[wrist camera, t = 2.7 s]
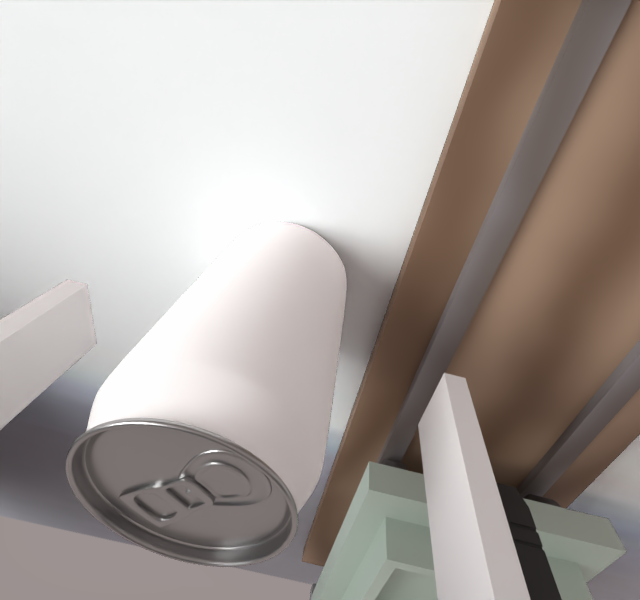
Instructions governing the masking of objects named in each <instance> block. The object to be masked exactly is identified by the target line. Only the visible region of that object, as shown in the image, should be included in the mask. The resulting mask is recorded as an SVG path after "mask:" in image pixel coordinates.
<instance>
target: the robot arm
mask: <svg viewBox="0 0 640 600" xmlns="http://www.w3.org/2000/svg"><path fill="white" fill-rule="evenodd" d="M96 344H97V341H96V335H95V329H94V323H93V317H92V310H91V304H90V298H89V292H88V285H87V284H84V283H80V282H76V281H71V280H65V281H64V282H62V283H60V284H59V285H57V286H55V287H54V288H52V289H50V290H49V291H47V292H45V293H44V294H42V295H40V296H39V297H37V298H35V299H34V300H32V301H31V302H29V303H27V304H26V305H24V306H22V307H21V308H19V309H17V310H16V311H14V312H12V313H11V314H9V315H7V316H6V317H4V318H2V319H1V320H0V430H1V429H2V428H3V427H4V426H5V425H6V424H8V423H9V422H10V421H11V420H12V419H13V418H14V417H15V416H16V415H18V414H19V413H20V412H21V411H22V410H23V409H24V408H25V407H27V406H28V405H29V404H30V403H31V402H32V401H33V400H34V399H35V398H37V397H38V396H39V395H40V394H41V393H42V392H43V391H44V390H46V389H47V388H48V387H49V386H50V385H51V384H52V383H53V382H54V381H56V380H57V379H58V378H59V377H60V376H61V375H62V374H63V373H65V372H66V371H67V370H68V369H69V368H70V367H71V366H72V365H74V364H75V363H76V362H77V361H78V360H79V359H80V358H81V357H82V356H84V355H85V354H86V353H87V352H88V351H89V350H90V349H91V348H93V347H94V346H95V345H96ZM418 428H419V437H420V446H421V455H422V464H423V473H424V482H425V491H426V499H427V508H428V517H429V526H430V535H431V544H432V553H433V562H434V571H435V580H436V589H437V598H438V600H562V599H561V596H560V593H559V590H558V587H557V585H556V582H555V579H554V576H553V573H552V571H551V568H550V565H549V562H548V559H547V557H546V554H545V551H544V550H543V549H542V547H543V545H542V542H541V540H540V537H539V534H538V533H537V532H536V529H537V528H536V526H535V523H534V520H533V517H532V514H531V512H530V509H529V507H528V505H527V504H526V502H525V501H524V499H523V498H522V496H521V495H520V493H519V492H518V491H517V489H516V488H515V487H511V486H508V485H504V484H500V483H496V480H495V477H494V474H493V470H492V467H491V463H490V460H489V457H488V453H487V450H486V446H485V443H484V440H483V436H482V433H481V429H480V426H479V423H478V419H477V416H476V412H475V409H474V406H473V402H472V399H471V395H470V392H469V389H468V385H467V382H466V378H463V377H459V376H455V375H451V374H447V373H444V374H443V376H442V378H441V380H440V382H439V384H438V386H437V388H436V390H435V392H434V394H433V396H432V398H431V400H430V402H429V404H428V406H427V408H426V410H425V412H424V414H423V416H422V418H421V420H420V422H419V424H418Z"/></svg>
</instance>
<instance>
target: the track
mask: <svg viewBox="0 0 640 600" xmlns="http://www.w3.org/2000/svg"><path fill="white" fill-rule="evenodd" d="M444 373H447V374H451V375H455V376H459V377H463V378H466V382H467V385H468V389H469V392H470V395H471V399H472V402H473V406H474V409H475V412H476V416H477V419H478V423H479V426H480V429H481V433H482V436H483V440H484V443H485V446H486V450H487V453H488V457H489V460H490V463H491V467H492V470H493V474H494V477H495V480H496V483H500V484H504V485H508V486H511V487H515V488H516V489H517V491H518V492H519V493H520V495H521V496H522V498H524V497H525V496H527V495H529V494H532V495H536V496H540V497H544V498H548V499H552V500H555V501H556V502H557V503H558V504H559V505H560V507H561V508H567V507H568V506H569V505H570V504H571V503H572V502H573V501H574V500H575V499H576V498H577V497H578V496H579V495H580V494H581V493H582V492H583V491H584V490H585V489H586V488H587V487H588V486H589V485H590V484H591V483H592V482H593V481H594V480H595V479H596V478H597V477H598V476H599V475H600V474H601V473H602V472H603V471H604V470H605V469H606V468H607V467H608V466H609V465H610V464H611V463H612V462H613V461H614V460H615V459H616V458H617V457H618V456H619V455H620V454H621V453H622V452H623V451H624V450H625V448H626V447H627V446H628V445H629V444H630V443H631V442H632V441H633V440H634V439H635V438H636V437H637V436H638V435H639V434H640V0H495V1H494V3H493V6H492V9H491V12H490V15H489V18H488V21H487V24H486V26H485V29H484V32H483V35H482V38H481V41H480V44H479V47H478V49H477V52H476V55H475V58H474V61H473V64H472V67H471V70H470V72H469V75H468V78H467V81H466V84H465V87H464V90H463V93H462V95H461V98H460V101H459V104H458V107H457V110H456V113H455V116H454V118H453V121H452V124H451V127H450V130H449V133H448V136H447V139H446V141H445V144H444V147H443V150H442V153H441V156H440V159H439V162H438V164H437V167H436V170H435V173H434V176H433V179H432V182H431V185H430V187H429V190H428V193H427V196H426V199H425V202H424V205H423V208H422V210H421V213H420V216H419V219H418V222H417V225H416V228H415V231H414V233H413V236H412V239H411V242H410V245H409V248H408V251H407V254H406V256H405V259H404V262H403V265H402V268H401V271H400V274H399V277H398V279H397V282H396V285H395V288H394V291H393V294H392V297H391V300H390V302H389V305H388V308H387V311H386V314H385V317H384V320H383V323H382V325H381V328H380V331H379V334H378V337H377V340H376V343H375V346H374V348H373V351H372V354H371V357H370V360H369V363H368V366H367V369H366V371H365V374H364V377H363V380H362V383H361V386H360V389H359V392H358V394H357V397H356V400H355V403H354V406H353V409H352V412H351V415H350V417H349V420H348V423H347V426H346V429H345V432H344V435H343V438H342V440H341V443H340V446H339V449H338V452H337V455H336V458H335V461H334V463H333V466H332V469H331V472H330V475H329V478H328V481H327V484H326V486H325V489H324V492H323V495H322V498H321V501H320V504H319V507H318V509H317V512H316V515H315V518H314V521H313V524H312V527H311V530H310V532H309V535H308V538H307V541H306V544H305V547H304V551H303V558H302V561H303V562H307V563H311V564H315V565H319V566H325V563H326V561H327V559H328V556H329V554H330V552H331V549H332V547H333V545H334V542H335V540H336V538H337V535H338V533H339V531H340V528H341V526H342V524H343V521H344V519H345V517H346V514H347V512H348V510H349V507H350V505H351V503H352V500H353V498H354V496H355V493H356V491H357V489H358V486H359V484H360V482H361V479H362V477H363V475H364V472H365V470H366V468H367V465H368V463H369V461H370V462H374V463H379V464H381V462H382V460H383V459H386V460H390V461H395V462H399V463H403V464H405V465H406V467H407V470H408V471H412V472H416V473H420V474H424V473H423V464H422V455H421V446H420V437H419V428H418V424H419V422H420V420H421V418H422V416H423V414H424V412H425V410H426V408H427V406H428V404H429V402H430V400H431V398H432V396H433V394H434V392H435V390H436V388H437V386H438V384H439V382H440V380H441V378H442V376H443V374H444Z"/></svg>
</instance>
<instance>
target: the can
mask: <svg viewBox="0 0 640 600" xmlns="http://www.w3.org/2000/svg"><path fill="white" fill-rule="evenodd" d="M346 293H347V278H346V271H345V268H344V265H343V263H342V261H341V259H340V257H339V255H338V254H337V253H336V251H335V250H334V249H333V248H332V247H331V245H330V244H329V243H328V242H327V241H325V240H324V239H323V238H322V237H321V236H320V235H318V234H317V233H315V232H314V231H312V230H310V229H308V228H306V227H303V226H300V225H297V224H293V223H288V222H268V223H263V224H259V225H257V226H254V227H252V228H250V229H248V230H246V231H245V232H243V233H242V234H241V235H239V236H238V237H237V238H236V239H235V240H234V241H233V242H232V243H231V244H230V245H229V246H228V247H227V248H226V249H225V250H224V251H223V252H222V253H221V254H220V255H219V257H218V258H217V259H216V260H215V261H214V262H213V263H212V264H211V265H210V266H209V267H208V268H207V269H206V270H205V271H204V272H203V274H202V275H201V276H200V277H199V278H198V279H197V280H196V281H195V282H194V283H193V284H192V285H191V286H190V287H189V289H188V290H187V291H186V292H185V293H184V294H183V295H182V296H181V297H180V298H179V299H178V300H177V301H176V303H175V304H174V305H173V306H172V307H171V308H170V309H169V310H168V311H167V312H166V313H165V314H164V316H163V317H162V318H161V319H160V320H159V321H158V322H157V323H156V324H155V325H154V326H153V327H152V329H151V330H150V331H149V332H148V333H147V334H146V335H145V336H144V337H143V338H142V339H141V340H140V342H139V343H138V344H137V345H136V346H135V347H134V348H133V349H132V350H131V351H130V353H129V354H128V355H127V356H126V357H125V358H124V359H123V360H122V361H121V363H120V364H119V365H118V366H117V367H116V368H115V370H114V371H113V372H112V373H111V374H110V375H109V377H108V378H107V379H106V381H105V382H104V383H103V385H102V386H101V388H100V389H99V391H98V393H97V395H96V397H95V400H94V402H93V405H92V409H91V413H90V417H89V421H88V426H87V431H86V432H84V433H83V434H82V435H81V436H79V437H78V438H77V439H76V440H75V442H74V443H73V444H72V446H71V447H70V449H69V451H68V454H67V458H66V475H67V479H68V482H69V484H70V487H71V489H72V491H73V492H74V494H75V496H76V497H77V499H78V500H79V501H80V503H81V504H82V505H83V506H84V507H85V509H86V510H87V511H88V512H89V513H90V514H91V515H92V516H93V517H95V518H96V519H97V520H98V521H99V522H100V523H102V524H103V525H104V526H106V527H107V528H108V529H110V530H111V531H113V532H114V533H116V534H117V535H119V536H121V537H122V538H124V539H126V540H128V541H130V542H132V543H133V544H136V545H138V546H140V547H142V548H144V549H146V550H149V551H151V552H154V553H157V554H159V555H162V556H165V557H169V558H172V559H175V560H179V561H183V562H188V563H193V564H198V565H205V566H217V567H236V566H246V565H251V564H256V563H260V562H263V561H266V560H268V559H271V558H273V557H275V556H276V555H278V554H280V553H281V552H282V551H284V550H285V549H286V548H287V547H288V546H289V544H290V543H291V542H292V540H293V538H294V536H295V534H296V531H297V527H298V512H299V511H300V510H301V508H302V507H303V506H304V504H305V503H306V502H307V500H308V499H309V497H310V496H311V494H312V493H313V491H314V489H315V487H316V486H317V484H318V481H319V479H320V475H321V472H322V468H323V463H324V457H325V451H326V445H327V438H328V431H329V424H330V417H331V410H332V403H333V395H334V388H335V380H336V373H337V365H338V358H339V350H340V342H341V334H342V327H343V319H344V311H345V302H346Z"/></svg>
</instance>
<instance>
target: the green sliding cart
mask: <svg viewBox="0 0 640 600" xmlns="http://www.w3.org/2000/svg"><path fill="white" fill-rule="evenodd" d="M523 499H524V501H525V502H526V504H527V505H528V507H529V509H530V512H531V514H532V517H533V520H534V523H535V526H536V528H537V529H536V532H537V533H538V534H539V537H540V540H541V542H542V545H543V547H542V549H543V550H544V551H545V554H546V557H547V559H548V562H549V565H550V568H551V571H552V573H553V576H554V579H555V582H556V585H557V587H558V590H559V593H560V596H561V599H562V600H593V598H592V596H591V594H590V591H589V589H588V587H587V584H586V583H587V582H589V581H590V580H591V579H592V578H594V577H595V576H596V575H598V574H599V573H600V572H601V571H603V570H604V569H605V568H607V567H608V566H609V565H611V564H612V563H613V562H614V561H616V560H617V559H618V558H620V557H621V556H622V555H623V554H625V553H626V552H627V551H626V549H625V548H624V546H623V544H622V542H621V540H620V539H619V537H618V535H617V533H616V531H615V529H614V528H613V526H612V524H611V522H610V520H609V519H607V518H603V517H599V516H595V515H591V514H586V513H582V512H578V511H574V510H570V509H566V508H561V507H560V505H559V504H558V503H557V502H556V501H555V500H552V499H548V498H544V497H540V496H536V495H532V494H529V495H527V496H525V497H524V498H523ZM310 600H438V598H437V589H436V580H435V571H434V562H433V553H432V544H431V535H430V526H429V517H428V508H427V499H426V491H425V482H424V474H420V473H416V472H412V471H408V470H407V467H406V465H405V464H403V463H399V462H395V461H390V460H386V459H383V460H382V462H381V464H379V463H374V462H370V461H369V463H368V465H367V468H366V470H365V472H364V475H363V477H362V479H361V482H360V484H359V486H358V489H357V491H356V493H355V496H354V498H353V500H352V503H351V505H350V507H349V510H348V512H347V514H346V517H345V519H344V521H343V524H342V526H341V528H340V531H339V533H338V535H337V538H336V540H335V542H334V545H333V547H332V549H331V552H330V554H329V556H328V559H327V561H326V563H325V566H324V568H323V570H322V573H321V575H320V577H319V580H318V582H317V584H313V585H312V587H311V592H310Z"/></svg>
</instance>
